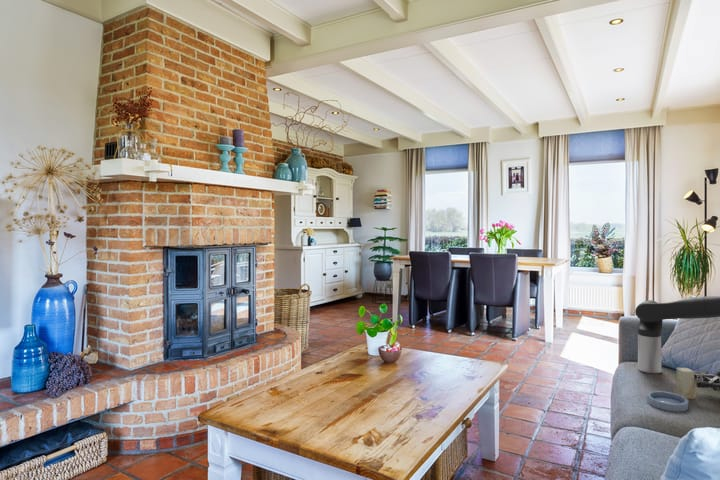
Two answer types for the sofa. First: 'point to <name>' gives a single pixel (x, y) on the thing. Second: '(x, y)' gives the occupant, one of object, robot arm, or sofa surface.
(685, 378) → the box
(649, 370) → the robot arm
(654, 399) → the dish
